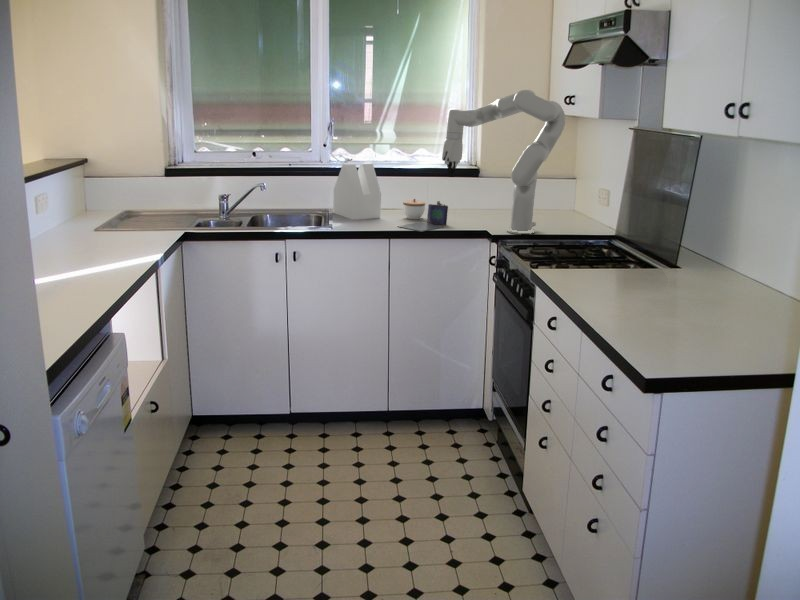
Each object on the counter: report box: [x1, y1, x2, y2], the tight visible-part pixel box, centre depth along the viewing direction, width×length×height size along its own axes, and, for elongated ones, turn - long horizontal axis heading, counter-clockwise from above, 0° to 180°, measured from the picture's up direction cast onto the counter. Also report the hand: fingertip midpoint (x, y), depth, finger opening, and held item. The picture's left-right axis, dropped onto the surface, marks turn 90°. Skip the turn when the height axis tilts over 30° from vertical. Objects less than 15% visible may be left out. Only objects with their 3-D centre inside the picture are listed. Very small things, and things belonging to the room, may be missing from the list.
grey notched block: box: [332, 162, 382, 221], centre depth 393 cm, size 19×15×25 cm
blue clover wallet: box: [426, 200, 449, 226], centre depth 381 cm, size 9×3×11 cm, turn 84°
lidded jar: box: [402, 198, 426, 220], centre depth 394 cm, size 11×11×9 cm
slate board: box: [397, 221, 445, 233], centre depth 374 cm, size 17×14×1 cm
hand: (451, 176), depth 377 cm, fingers closed
